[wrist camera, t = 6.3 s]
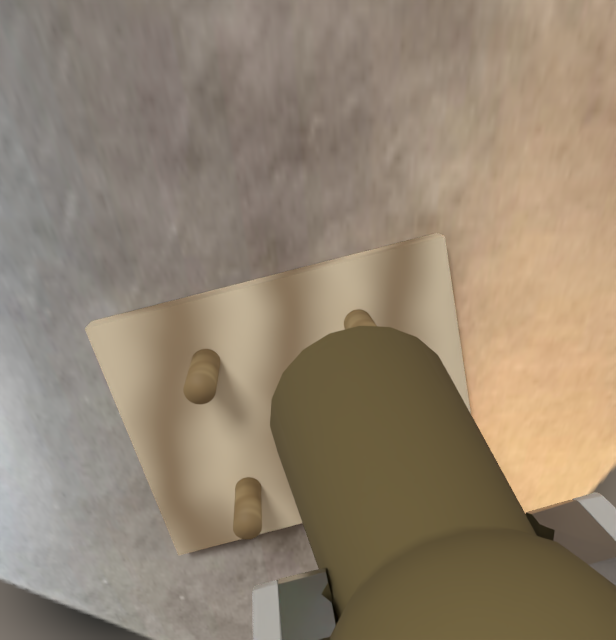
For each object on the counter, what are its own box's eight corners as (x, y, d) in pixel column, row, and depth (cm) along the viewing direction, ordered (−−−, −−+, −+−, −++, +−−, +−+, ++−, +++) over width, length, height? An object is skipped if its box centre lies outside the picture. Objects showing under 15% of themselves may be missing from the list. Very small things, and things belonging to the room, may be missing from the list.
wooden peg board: (437, 232, 29) (469, 248, 25) (472, 465, 35) (504, 513, 30) (91, 321, 29) (61, 353, 25) (181, 542, 34) (170, 601, 30)
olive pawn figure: (237, 372, 16) (220, 800, 5) (421, 294, 16) (769, 575, 5) (312, 520, 18) (405, 1044, 7) (476, 452, 18) (807, 884, 7)
